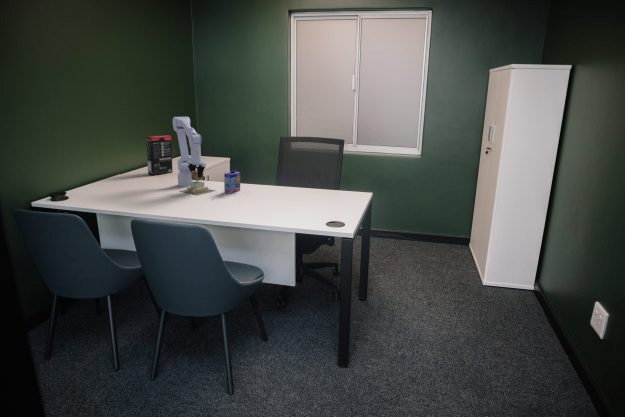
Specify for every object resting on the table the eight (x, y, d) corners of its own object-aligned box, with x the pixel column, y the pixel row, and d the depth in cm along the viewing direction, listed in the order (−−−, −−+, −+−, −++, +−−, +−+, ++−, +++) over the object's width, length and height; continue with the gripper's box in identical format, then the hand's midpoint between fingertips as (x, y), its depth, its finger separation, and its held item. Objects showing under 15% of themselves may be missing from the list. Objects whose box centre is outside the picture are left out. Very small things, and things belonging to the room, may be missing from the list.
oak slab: (186, 191, 272) (186, 187, 272) (197, 188, 279) (197, 184, 279) (197, 193, 267) (196, 189, 267) (208, 190, 275) (207, 186, 274)
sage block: (190, 187, 272) (189, 182, 271) (197, 185, 277) (197, 180, 276) (197, 188, 269) (196, 183, 268) (204, 186, 274) (204, 182, 273)
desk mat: (178, 192, 271) (178, 191, 271) (198, 187, 284) (198, 186, 284) (196, 196, 263) (196, 195, 263) (216, 191, 276) (216, 190, 276)
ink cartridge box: (231, 194, 270) (230, 170, 266) (224, 193, 272) (223, 169, 268) (241, 191, 278) (240, 168, 274) (233, 190, 281) (233, 167, 277)
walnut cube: (191, 179, 271) (191, 171, 270) (197, 178, 275) (197, 170, 274) (197, 180, 269) (196, 172, 267) (203, 179, 273) (203, 171, 271)
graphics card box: (167, 171, 331) (165, 134, 324) (173, 172, 327) (171, 135, 320) (147, 174, 318) (144, 136, 310) (153, 176, 314) (151, 137, 307)
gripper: (209, 155, 267) (210, 177, 270) (192, 152, 274) (193, 174, 278) (200, 156, 261) (201, 179, 265) (183, 154, 269) (184, 176, 272)
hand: (196, 177), depth 271 cm, fingers closed on walnut cube, 5 cm apart
